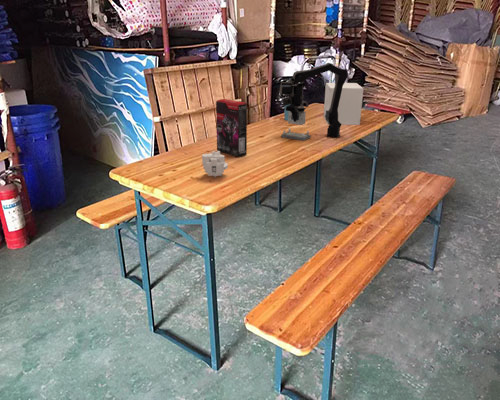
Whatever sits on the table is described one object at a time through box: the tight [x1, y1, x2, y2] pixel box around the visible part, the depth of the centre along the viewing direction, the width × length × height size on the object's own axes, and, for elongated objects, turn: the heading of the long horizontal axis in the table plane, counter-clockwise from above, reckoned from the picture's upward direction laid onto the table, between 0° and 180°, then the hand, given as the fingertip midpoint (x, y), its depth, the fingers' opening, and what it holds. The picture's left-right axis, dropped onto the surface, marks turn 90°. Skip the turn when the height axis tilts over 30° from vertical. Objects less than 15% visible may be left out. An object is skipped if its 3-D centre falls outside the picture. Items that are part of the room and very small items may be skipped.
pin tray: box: [280, 127, 312, 142], centre depth 263 cm, size 15×9×4 cm, turn 58°
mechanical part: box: [201, 150, 229, 179], centre depth 197 cm, size 11×12×12 cm
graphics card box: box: [215, 98, 248, 158], centre depth 227 cm, size 17×7×27 cm, turn 46°
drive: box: [287, 111, 307, 126], centre depth 259 cm, size 9×5×7 cm, turn 58°
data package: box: [283, 104, 290, 122], centre depth 303 cm, size 12×4×12 cm, turn 51°
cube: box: [323, 82, 364, 126], centre depth 302 cm, size 25×21×24 cm
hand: (296, 120), depth 260 cm, fingers closed on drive, 5 cm apart
